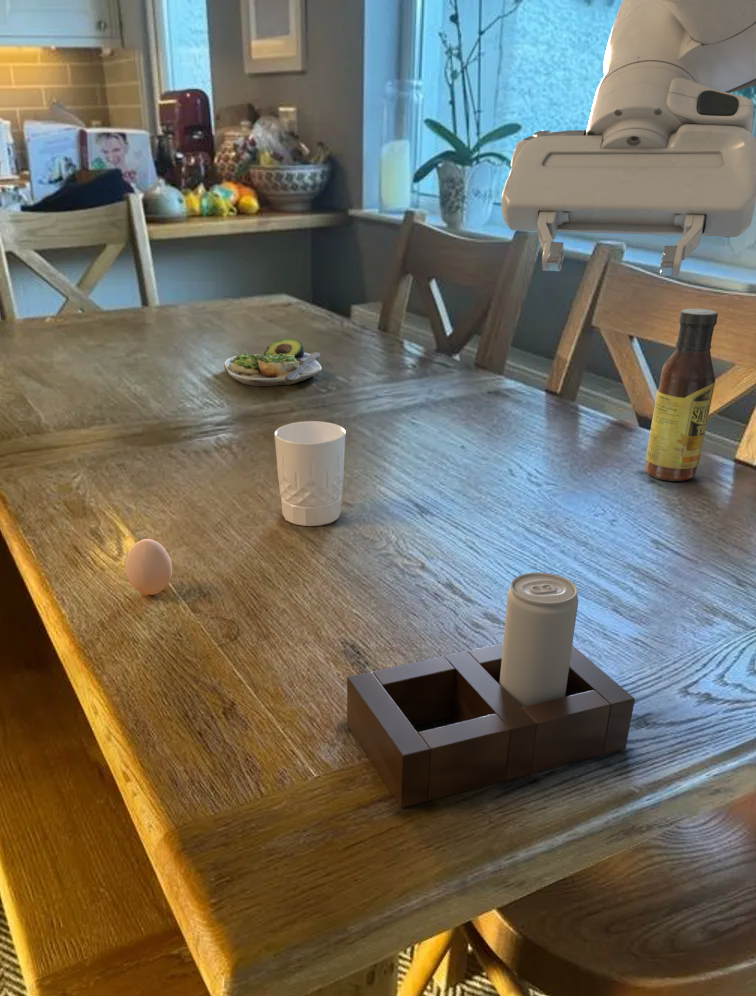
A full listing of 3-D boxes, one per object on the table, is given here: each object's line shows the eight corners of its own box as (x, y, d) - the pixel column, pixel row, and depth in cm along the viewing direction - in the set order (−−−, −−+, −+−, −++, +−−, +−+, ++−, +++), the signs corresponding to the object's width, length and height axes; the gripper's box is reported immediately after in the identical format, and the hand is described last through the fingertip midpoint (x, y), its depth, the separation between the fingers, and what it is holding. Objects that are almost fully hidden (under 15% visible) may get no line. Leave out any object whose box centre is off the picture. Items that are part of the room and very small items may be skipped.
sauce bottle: (689, 487, 109) (722, 319, 100) (637, 478, 113) (664, 314, 103) (701, 470, 114) (734, 308, 105) (651, 462, 117) (678, 304, 108)
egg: (180, 584, 90) (175, 532, 88) (165, 605, 87) (159, 552, 84) (139, 580, 91) (132, 529, 89) (121, 601, 88) (114, 548, 85)
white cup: (286, 500, 109) (283, 419, 104) (350, 504, 107) (350, 422, 103) (270, 526, 102) (266, 441, 97) (339, 531, 101) (338, 445, 96)
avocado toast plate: (338, 386, 152) (338, 359, 149) (232, 394, 149) (231, 366, 147) (316, 358, 168) (316, 333, 166) (221, 365, 166) (219, 339, 164)
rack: (550, 677, 74) (556, 631, 72) (626, 749, 66) (635, 698, 64) (346, 725, 69) (346, 676, 67) (401, 808, 61) (403, 756, 59)
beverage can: (571, 741, 67) (591, 600, 61) (509, 749, 66) (524, 607, 60) (544, 704, 71) (562, 568, 65) (486, 711, 70) (498, 575, 65)
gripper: (515, 104, 78) (479, 239, 75) (775, 99, 71) (747, 248, 68) (521, 158, 84) (488, 286, 81) (763, 158, 77) (736, 299, 74)
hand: (608, 269), depth 74 cm, fingers open, 8 cm apart
